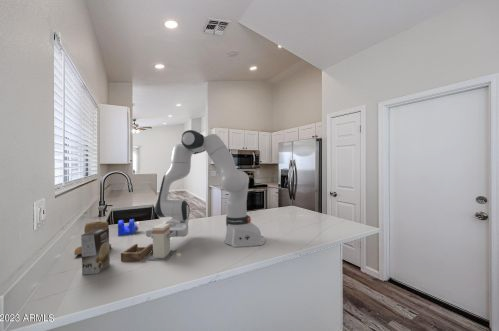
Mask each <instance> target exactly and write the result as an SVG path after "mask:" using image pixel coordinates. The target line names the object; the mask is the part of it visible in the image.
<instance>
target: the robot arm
mask: <svg viewBox="0 0 499 331" xmlns="http://www.w3.org/2000/svg"><path fill="white" fill-rule="evenodd" d="M180 142H181V143H178V144H176V145H174V146H173V148H172V153H171V157H170V167H169V168H168V170H167V171H166V172H164V174H163V177H162V181H161V184H160V188H159V193H158V197H157V200H156V203H155V206H154V212H155V215H157V216H158V217H159V218H171V219H169V220H168V221H166V222H165V223H164V224H169V226H170V233H169V234H167V236H168V237H167V238H170V239H172V238H175V237H176V238H179V237H182V238H184V237H187V236H188V234H189V220H190V219H189V217H190V212H191V210H190V205H189V204H188V201H186V200H185V199H184V200H183V199H181V200H180V199H168V196H169V192H170V187H171V185H172V184H173V183H174V182H176V181H180V180H182V179H184V178H186V177H187V176H188V175H189V174H190V173H191V167H192V164H191V163H192V162H191V161H192V156H193V155H197V154H201V153H204V152H206V153H207V155H208V156H209V158H210V160H211V161H212V163H213V165H214V166H215V168H216V170H217V173H218V176H219V178H220V185H221V188H222V189H223V191H225V192H228V196H227V200H226V216H225V217H226V218H225V225H226V231H225V232H226V234H225V237H224V243H225V244H227V245H229V246H231V247H233V248H242V247H244V248H245V247H254V246H255V247H256V246H262V245H264V244H265V243H266V237H265V236H264V235H262V233H261V229H260V227H258V226H257V225H256V224H254V223H252V222H251V221H252V218H251V216H250V215H248V214H247V213H248V212H247V209H248V208H247V206H248V205H247V199H248V191H249V183H250V178H249V175H248V174H247V172H245V171H243V170H238V168H237V165H236V163H235V159H234V156H233V155H232V153H231V152H230V150H229V148H228V147H227V145H226V144H225V142H224V140H222V139H221V137H220V136H219V135H218V134H216V133H210V134H207V135H206V136H204V134H203V133H200V132H198V131H197V130H193V129H188V130H185V131H184V132H183V133H181V137H180ZM155 226H156V225H154V226H151V227H149V228H147V229H146V230H145V236H146V237H147V238H151V239H153V227H155Z"/></svg>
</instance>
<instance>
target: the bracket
mask: <svg viewBox="0 0 499 331" xmlns="http://www.w3.org/2000/svg"><path fill="white" fill-rule="evenodd" d="M117 222H118V223H117V236H118V237H119V236H129V235H130V236H131V235H134V234H135V232H136V231H137V229H138V224H135V223H136V222H135V219H134V218H132V219H131V218H130V219H129V221H128V224H127V225H125V221H124V219H119V220H118V221H117ZM133 233H134V234H133Z"/></svg>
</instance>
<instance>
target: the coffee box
mask: <svg viewBox="0 0 499 331" xmlns="http://www.w3.org/2000/svg"><path fill="white" fill-rule="evenodd" d="M109 230H110V228H104V229H94V230H92V231H89V232H87V233H85V232H84V233H82V234H81V235H80V236H81V237H80V238H81V241H80V242H81V246H82V254H81V275H82V276H83V275H97V274H99V273H101V272H102V271H103V270H104V269H105V268H107V267H108V266H109V265H110V264H111V263H110V262H111V261H110V248H109V244H110V231H109Z"/></svg>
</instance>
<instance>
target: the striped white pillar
mask: <svg viewBox="0 0 499 331" xmlns="http://www.w3.org/2000/svg"><path fill="white" fill-rule="evenodd" d="M154 226H155V227H154ZM154 226H152V227H153V238H152V244H153V251H152V253H153V254H152V255H153V258H164V257H165V256H166V255H168V254H169V253H170V250H171V238H167V237H168V236H167V234H169V233H170V226H169V224H165V223H159V224H157V225H154Z"/></svg>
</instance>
